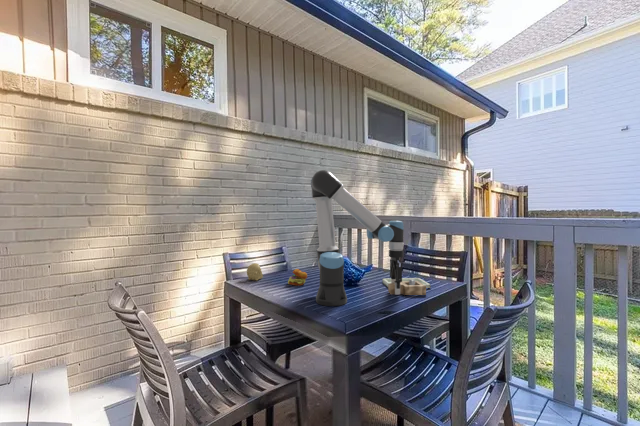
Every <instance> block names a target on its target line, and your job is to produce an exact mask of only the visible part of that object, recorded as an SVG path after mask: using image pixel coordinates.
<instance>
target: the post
mask: <svg viewBox="0 0 640 426" xmlns="http://www.w3.org/2000/svg"><path fill="white" fill-rule="evenodd" d="M409 285H415V280H413V279H410V280H409Z"/></svg>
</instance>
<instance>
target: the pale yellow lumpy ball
mask: <svg viewBox="0 0 640 426" xmlns="http://www.w3.org/2000/svg"><path fill="white" fill-rule="evenodd" d="M262 272H263V271H262V268H261V266H260V264H259V263H258V262H257V263H255V262H254V263H251V264H249V266H248V267H247V268H246V276H247V277H248V279H247V280H249V281H251V280H252V281H258V280H261V279H263V277H264V274H263V273H262Z"/></svg>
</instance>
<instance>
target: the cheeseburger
mask: <svg viewBox="0 0 640 426" xmlns="http://www.w3.org/2000/svg"><path fill="white" fill-rule="evenodd" d="M292 273H293V274H292V276H289V278H288V281H287V283H288V285H291V286H303V285H304V284H305V283H306V281H307V280H306V279H308V273H307V272H305V271H302V270H300V269H299V268H295V269H294V270H293V271H292Z"/></svg>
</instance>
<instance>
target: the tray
mask: <svg viewBox="0 0 640 426" xmlns="http://www.w3.org/2000/svg"><path fill="white" fill-rule="evenodd" d="M410 279H413V280H415V281H419V282H420V283H422V284H423V285H425V286H426V288H431V283H428V282H427V281H425V280H424V279H421V278H420V277H402V281H409V280H410ZM388 283H391V277H387V278H382V284H383V285H384V286H386V287H387V288H388ZM431 289H432V288H431Z"/></svg>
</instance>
